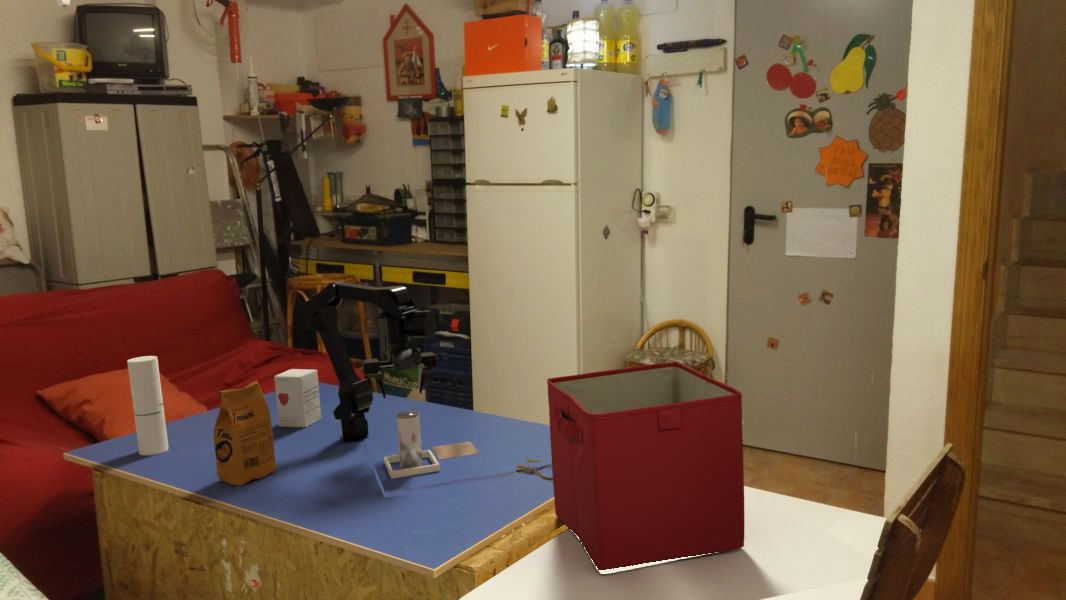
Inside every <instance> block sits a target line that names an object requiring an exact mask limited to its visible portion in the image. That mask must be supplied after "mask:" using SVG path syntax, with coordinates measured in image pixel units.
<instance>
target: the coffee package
mask: <svg viewBox="0 0 1066 600" xmlns="http://www.w3.org/2000/svg"><path fill="white" fill-rule="evenodd" d="M218 397H220V400H221V402H220V405H219V409H218V414H217V417H216V419H215V423H214V427H213V443H214V455H215V465H216V476H217V477H218V480H220V481H221V482H225V483H226V484H230V485H232V486H239V487H240V486H242V485H244V484H247V483H249V482H251V481H252V480H259V479H260V480H261V479H262V478H265V477H267V476H268V475H270V474H271V473H273V472H276V470H277V468H276V467H277V463H276V455H275V444H274V442H275V441H274V433H273V427H272V425H273V424H272V419H271V413H270V412H271V411H270V409H269V405H268V403H267V400H266V398H265V396H264V394H263V391H262V387H261V386H260V384H259V381H258V380H254V381H253V382H251V383H249V384H247V385H246V386H244V387H243V388H236V389H235V388H234V389H226V390H219V391H218Z"/></svg>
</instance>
